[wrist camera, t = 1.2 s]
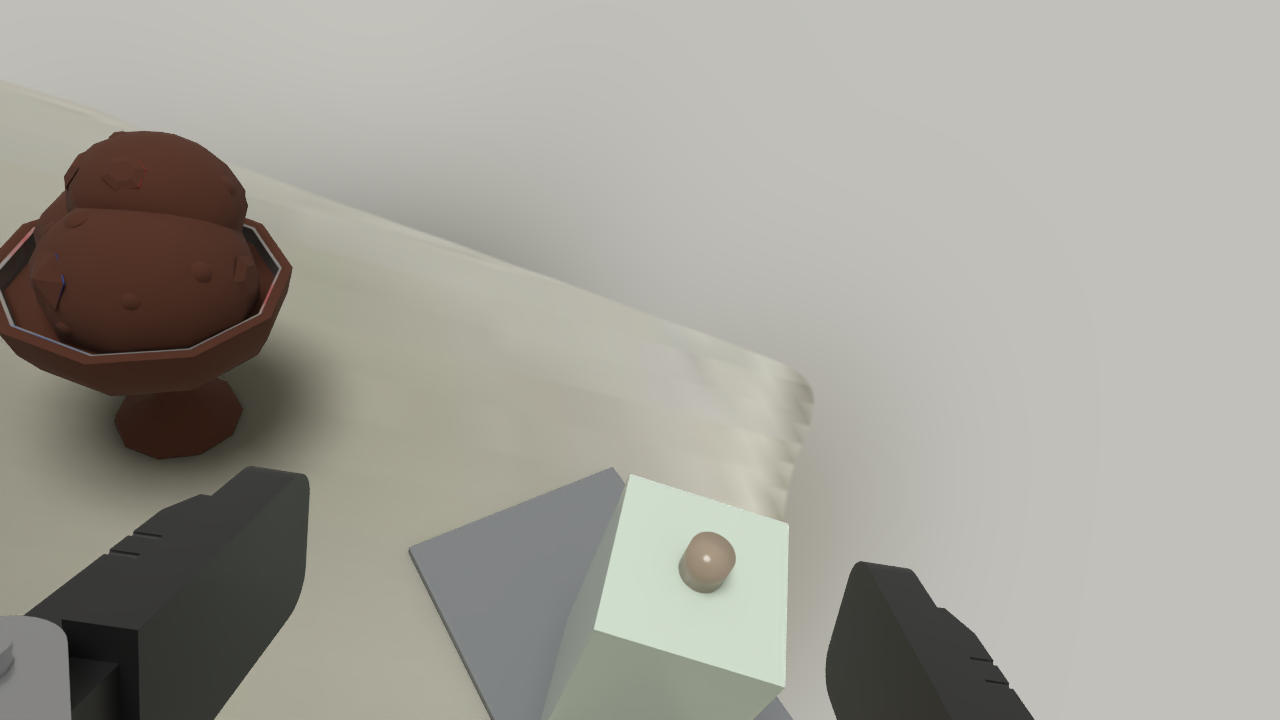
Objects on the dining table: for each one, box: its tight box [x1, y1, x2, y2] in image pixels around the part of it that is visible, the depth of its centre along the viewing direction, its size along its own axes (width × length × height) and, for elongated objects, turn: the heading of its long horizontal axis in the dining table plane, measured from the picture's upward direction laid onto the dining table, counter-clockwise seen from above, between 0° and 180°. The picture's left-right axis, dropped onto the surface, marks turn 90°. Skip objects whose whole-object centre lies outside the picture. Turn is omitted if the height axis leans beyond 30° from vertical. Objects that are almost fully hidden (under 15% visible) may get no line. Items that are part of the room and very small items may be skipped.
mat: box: [409, 467, 793, 720], centre depth 34 cm, size 18×12×1 cm, turn 35°
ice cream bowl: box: [0, 131, 293, 459], centre depth 32 cm, size 11×11×15 cm
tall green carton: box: [541, 474, 789, 720], centre depth 28 cm, size 6×6×13 cm
